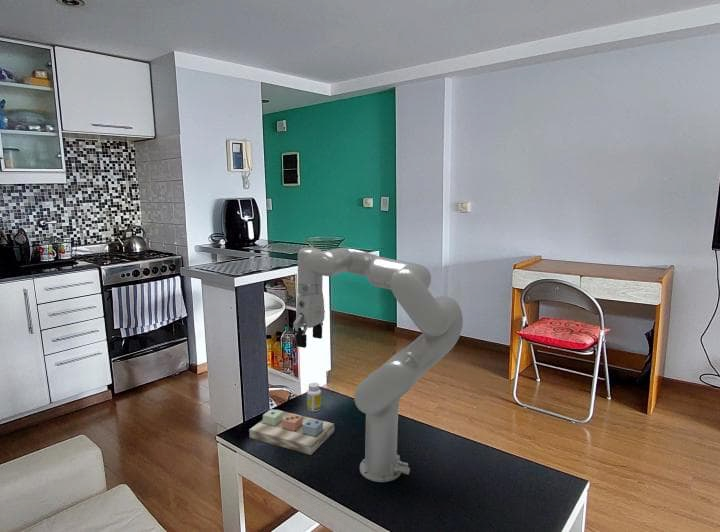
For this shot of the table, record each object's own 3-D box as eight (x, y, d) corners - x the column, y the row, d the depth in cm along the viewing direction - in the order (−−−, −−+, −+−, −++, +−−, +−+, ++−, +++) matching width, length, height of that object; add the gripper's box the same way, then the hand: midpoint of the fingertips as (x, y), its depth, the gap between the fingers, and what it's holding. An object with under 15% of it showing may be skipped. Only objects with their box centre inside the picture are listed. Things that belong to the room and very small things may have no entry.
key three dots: (302, 424, 159) (302, 416, 158) (294, 431, 154) (294, 422, 154) (290, 421, 161) (290, 413, 160) (282, 428, 156) (282, 419, 156)
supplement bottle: (322, 405, 179) (322, 382, 178) (319, 412, 174) (319, 388, 173) (308, 405, 180) (308, 381, 178) (305, 411, 175) (305, 387, 173)
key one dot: (283, 419, 162) (282, 411, 161) (274, 426, 157) (274, 417, 157) (271, 416, 164) (271, 408, 163) (262, 423, 159) (262, 414, 159)
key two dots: (322, 429, 155) (322, 421, 155) (315, 436, 151) (315, 427, 150) (310, 426, 157) (310, 417, 157) (302, 433, 153) (302, 424, 152)
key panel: (334, 431, 160) (334, 423, 160) (311, 454, 146) (311, 446, 145) (276, 417, 170) (276, 409, 169) (249, 437, 155) (249, 429, 155)
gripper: (306, 295, 131) (305, 352, 133) (333, 284, 146) (333, 336, 149) (283, 292, 134) (283, 348, 136) (313, 282, 149) (312, 333, 152)
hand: (309, 342), depth 143 cm, fingers open, 9 cm apart
